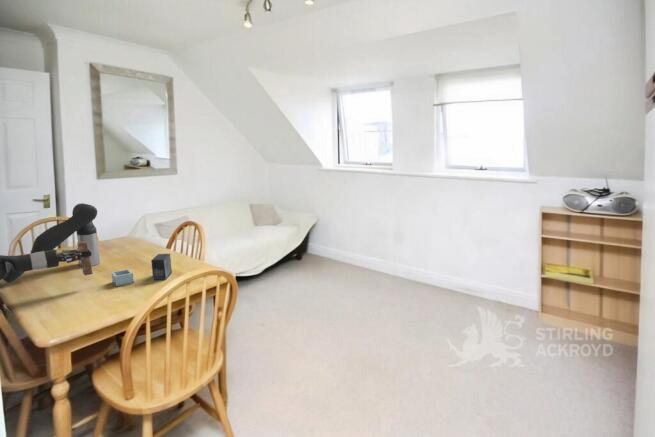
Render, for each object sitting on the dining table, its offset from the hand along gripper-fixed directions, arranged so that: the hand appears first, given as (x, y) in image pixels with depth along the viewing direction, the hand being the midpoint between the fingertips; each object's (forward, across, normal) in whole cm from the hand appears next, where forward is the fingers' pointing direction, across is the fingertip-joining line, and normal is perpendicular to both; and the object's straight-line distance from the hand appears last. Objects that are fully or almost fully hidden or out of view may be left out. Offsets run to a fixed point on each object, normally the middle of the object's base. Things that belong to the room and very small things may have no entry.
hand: (89, 252), depth 183 cm
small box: (+29, +5, -17) cm, 34 cm away
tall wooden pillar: (-2, 0, -10) cm, 10 cm away
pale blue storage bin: (+12, +2, -17) cm, 20 cm away
